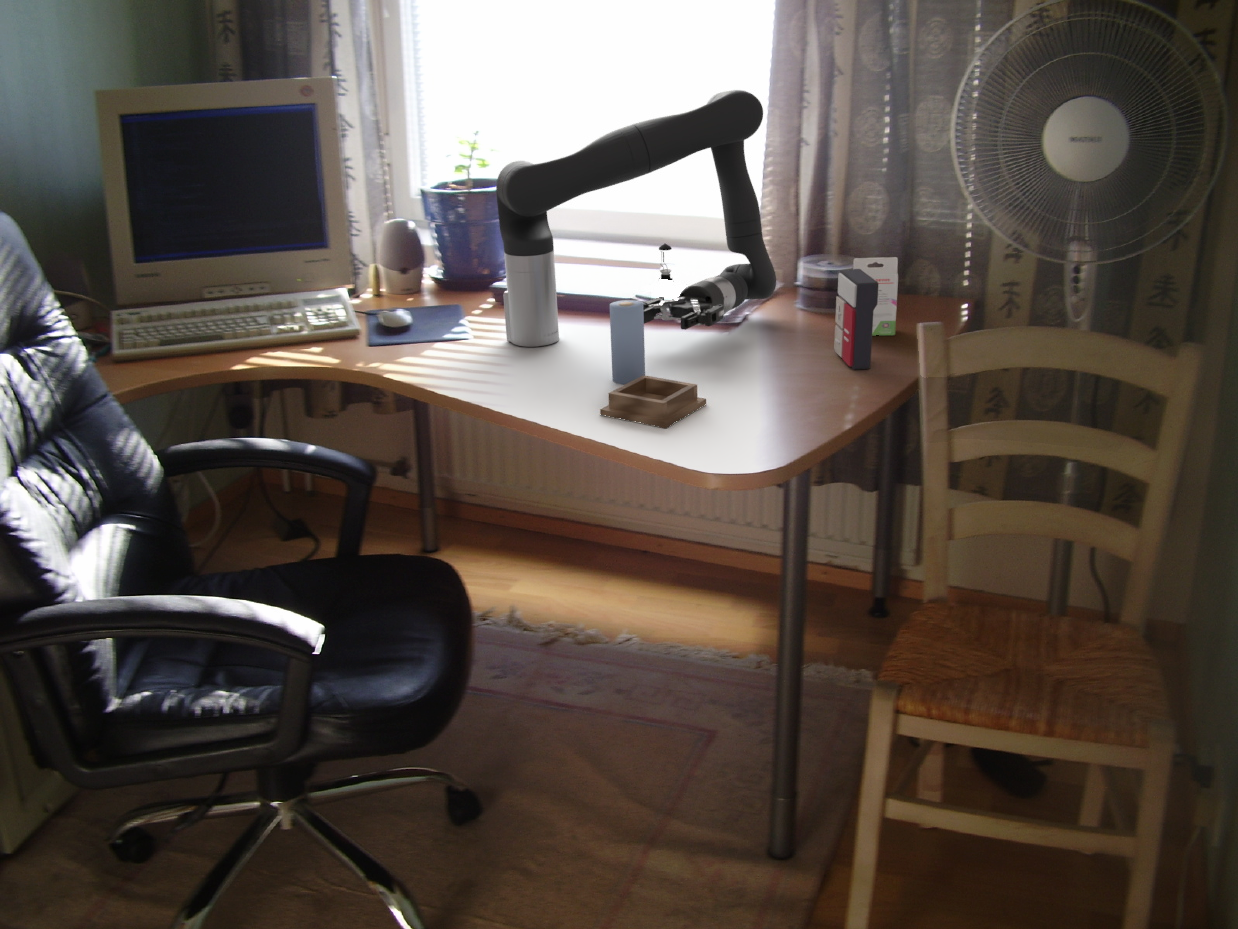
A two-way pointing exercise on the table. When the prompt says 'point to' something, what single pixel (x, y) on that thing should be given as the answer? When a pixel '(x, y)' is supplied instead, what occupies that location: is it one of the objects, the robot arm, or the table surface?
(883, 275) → the ink box
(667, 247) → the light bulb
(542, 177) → the robot arm
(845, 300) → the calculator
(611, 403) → the walnut holder
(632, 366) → the blue-grey tall cylinder
